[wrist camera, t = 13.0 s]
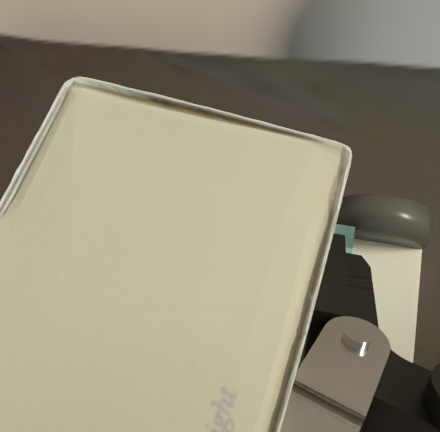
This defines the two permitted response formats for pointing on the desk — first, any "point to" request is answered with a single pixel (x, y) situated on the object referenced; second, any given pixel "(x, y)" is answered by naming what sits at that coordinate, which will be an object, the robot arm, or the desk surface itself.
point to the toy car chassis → (389, 258)
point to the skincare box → (160, 265)
